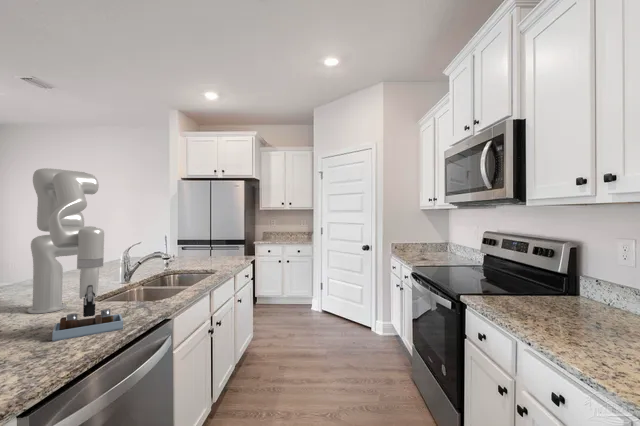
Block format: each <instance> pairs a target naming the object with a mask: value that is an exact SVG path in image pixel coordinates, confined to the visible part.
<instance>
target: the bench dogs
mask: <svg viewBox="0 0 640 426" xmlns="http://www.w3.org/2000/svg"><path fill="white" fill-rule="evenodd" d="M100 315H102V317H103V316H109V315H111V308H105V309H104V308H103V309H102V310H100ZM67 320H78V313H69V314H67V315H66V321H67Z"/></svg>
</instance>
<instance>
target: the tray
mask: <svg viewBox="0 0 640 426" xmlns="http://www.w3.org/2000/svg"><path fill="white" fill-rule="evenodd" d="M111 315H112V316H113V317H114V319H113V322H110V323H103V324H97V325H91V326H84V327H78V328H72V329H65V330H59V327H60V322H56V323H54V326H53V329H52V339H51V341H52V342H57V341H65V340H70V339H74V338H80V337H86V336H92V335H98V334H99V335H100V334H105V333H109V332H115V331H120V330H124V319H123V317H122V313H117V314H110V315H109V316H111ZM103 317H107V316H103ZM69 338H70V339H69Z"/></svg>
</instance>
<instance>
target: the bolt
mask: <svg viewBox="0 0 640 426" xmlns="http://www.w3.org/2000/svg"><path fill="white" fill-rule="evenodd" d="M110 315H111V316H107V317H102V315H101V314H95V315H94V316H93V317H86V318H79V319H77V320H67V316H65V317H61V318H59V323H60V327H59V330H65V329H72V328H78V327H84V326H91V325H97V324H103V323H110V322H113V319H114V317H113V316H112V315H113V314H110Z"/></svg>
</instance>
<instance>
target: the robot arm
mask: <svg viewBox="0 0 640 426" xmlns="http://www.w3.org/2000/svg"><path fill="white" fill-rule="evenodd" d="M32 185H33V188H34V190H35V193H36V197H37V212H36V227H37V229H38V230H40V231H42V232H49V234H42V235H37V236H35V237H34V238H32V240H31V242H30V249H31V250H30V251H31V256H32V268H33V269H32V271H33V272H32V306H31V307H29V308H27V310H26V311H27V313H28V314H46V313H54V312H57V311H62V310H64V309H65V308H67V304H68V303H65V302H63V277H64V276H63V274H64V273H63V272H64V271H63V270H64V269H63V268H64V267H63V264H62V263H61V261H59V260H57V259H56V258H59V257H69V256H76V255H77V256H76V257H77V258H76V269H78V270H80V273H79V299H82V298H83V311H82V313H83V314H82V316H83V317H84V318H90V317H95V316H96V303H95V302H96V301H95V300H96V299H95V298H96V297H97V296H98V289H99V282H100V280H99V279H100V269H102V268H104V253H105V250H104V249H105V247H104V246H105V231H104V229H102V228H98V227H96V226H91V225H90V226H89V225H88V226H85V218H84V215H83V213H82V211H84V210H85V209H86V208H87V206H88V202H87V199H86V196H85V195H91V196H92V195H95V194H96V193H97V192H98V191H99V188H100V187H99V181H98V179H97V177H96V176H95V175H94V174H91V173H88V172H85V171H78V170H77V171H76V170H66V169H61V168H60V169H59V168H58V169H57V168H48V167H47V168H38V169H36V170H35V171H34V172H33V175H32Z"/></svg>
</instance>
